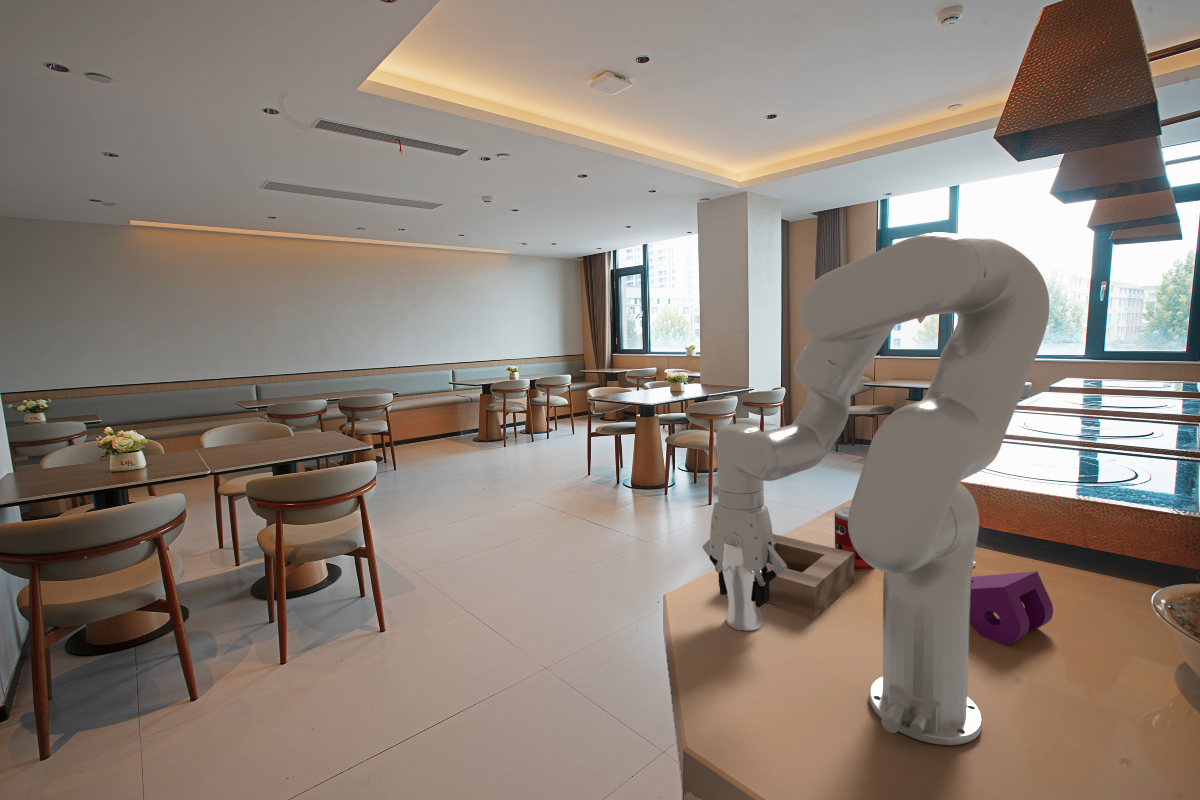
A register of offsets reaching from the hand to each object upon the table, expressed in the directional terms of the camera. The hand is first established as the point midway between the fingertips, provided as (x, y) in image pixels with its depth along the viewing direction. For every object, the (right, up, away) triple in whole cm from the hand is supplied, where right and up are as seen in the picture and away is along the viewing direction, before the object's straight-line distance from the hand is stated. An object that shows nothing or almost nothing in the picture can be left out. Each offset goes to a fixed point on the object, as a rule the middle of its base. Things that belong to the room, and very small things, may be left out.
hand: (743, 597), depth 95 cm
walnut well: (+12, -2, +12) cm, 18 cm away
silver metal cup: (0, -5, +1) cm, 5 cm away
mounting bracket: (+38, -3, -2) cm, 39 cm away
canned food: (+29, 0, +21) cm, 36 cm away
